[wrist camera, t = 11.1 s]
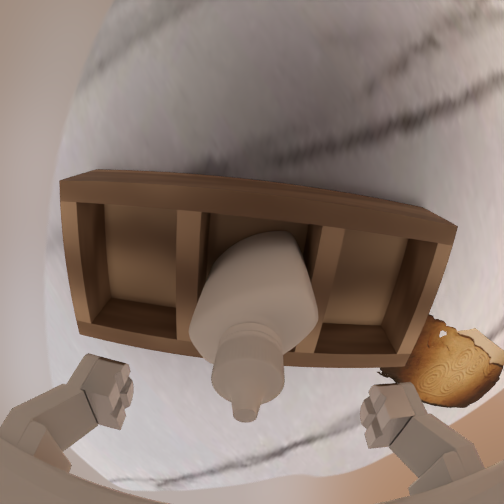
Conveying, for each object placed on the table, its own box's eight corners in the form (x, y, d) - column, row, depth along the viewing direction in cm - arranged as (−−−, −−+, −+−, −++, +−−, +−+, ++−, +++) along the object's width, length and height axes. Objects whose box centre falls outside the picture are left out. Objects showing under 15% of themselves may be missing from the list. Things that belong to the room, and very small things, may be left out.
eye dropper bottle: (297, 293, 20) (323, 451, 9) (212, 288, 20) (164, 441, 9) (304, 230, 18) (356, 365, 7) (212, 225, 18) (140, 352, 7)
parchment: (514, 358, 25) (517, 362, 24) (465, 412, 28) (468, 416, 27) (411, 277, 21) (416, 282, 21) (339, 366, 24) (341, 372, 23)
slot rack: (96, 169, 18) (59, 180, 14) (422, 207, 19) (457, 226, 14) (104, 301, 22) (79, 334, 18) (384, 330, 22) (404, 366, 18)
